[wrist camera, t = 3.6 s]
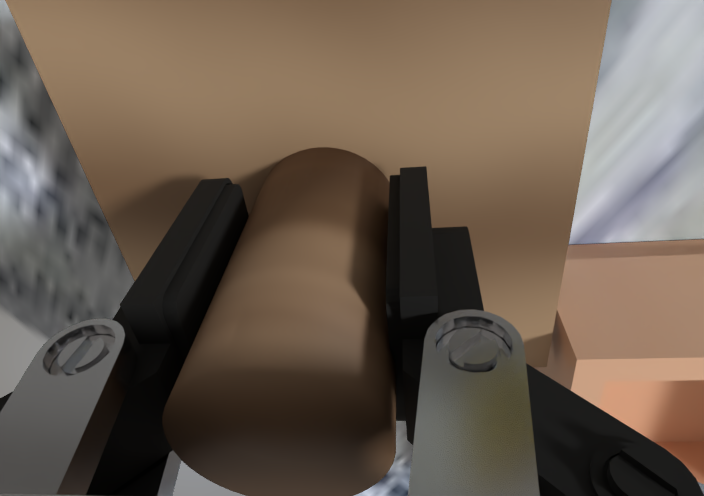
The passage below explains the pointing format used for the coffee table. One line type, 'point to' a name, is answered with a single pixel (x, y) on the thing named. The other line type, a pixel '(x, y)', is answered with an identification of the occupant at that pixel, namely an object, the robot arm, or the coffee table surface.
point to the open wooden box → (636, 339)
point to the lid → (323, 190)
